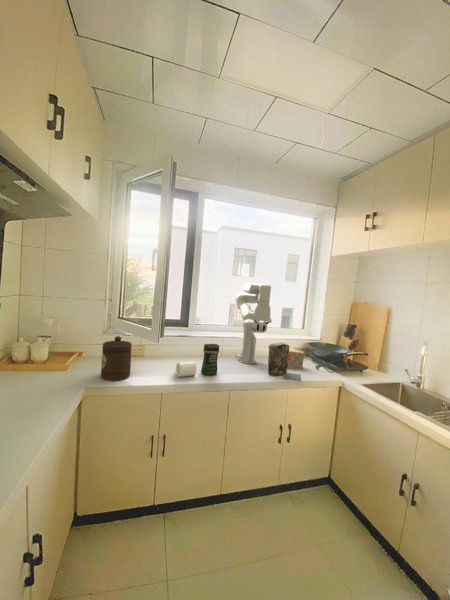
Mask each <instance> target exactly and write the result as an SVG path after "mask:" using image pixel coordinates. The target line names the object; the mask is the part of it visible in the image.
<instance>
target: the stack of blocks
mask: <svg viewBox="0 0 450 600" xmlns="http://www.w3.org/2000/svg"><path fill="white" fill-rule="evenodd" d="M304 358H305V353H304V351H303V350H299V349H291V348H289V353H288V359H287V369H296V370H303V365H304Z"/></svg>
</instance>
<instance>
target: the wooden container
mask: <svg viewBox="0 0 450 600" xmlns="http://www.w3.org/2000/svg"><path fill="white" fill-rule="evenodd" d="M101 352H102V354H101V368H100V369H101V370H100V378H101V379H102V380H104V381H108V380H109V381H110V382H111V381H112V382H116V381H122V380H123V381H124V380H126V379H128V378H129V377H130V376H131V364H132V363H131V362H132V342H131V341H127V340H122V337H121V336H119V335H117V336H115V337H114V340H110V341H105V342H103V343H102V351H101ZM109 381H108V382H109Z"/></svg>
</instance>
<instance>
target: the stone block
mask: <svg viewBox="0 0 450 600" xmlns="http://www.w3.org/2000/svg"><path fill="white" fill-rule="evenodd" d="M289 349H290V345H289V344H287V343H285V342H276V343H270V344H269V345H268V361H267V364H268V365H267V366H268V367H267V373H268V375H269V376H272V377H275V376H280V375H283V374H285V373H286V372H288V370H287V369H288V368H287V359H288V353H289Z"/></svg>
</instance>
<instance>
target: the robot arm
mask: <svg viewBox="0 0 450 600" xmlns="http://www.w3.org/2000/svg"><path fill="white" fill-rule="evenodd" d="M242 289H243V292H238V293H237V294H236V296H235V304H236V306H237V308H238V310H239V312H240V315H241V317H242V320H243V324H242V325H243V326H242V327H243V329H242V330H243V335H242V337H243V338H242V348H241V354H238V353H236V354H235V358H238V361H239V362H240V363H243V364H247V365H253V364H256V363H257V359H255V354H256V347H257V346H256V345H257V337H256V335H255V333H258V334H259V333H262V334H263V333H266V332H267V330H268V324H271V323H272V322H273V321H272V319H271V306H270V301H271V300H270V299H271V290H272V286H271V285H270V284H264V283H256V282H247V283H245V284H244V285H243V287H242ZM249 304H251V305H252V304H256V305H255V309H254V310H253V309H251V306H250V305H249Z"/></svg>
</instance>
